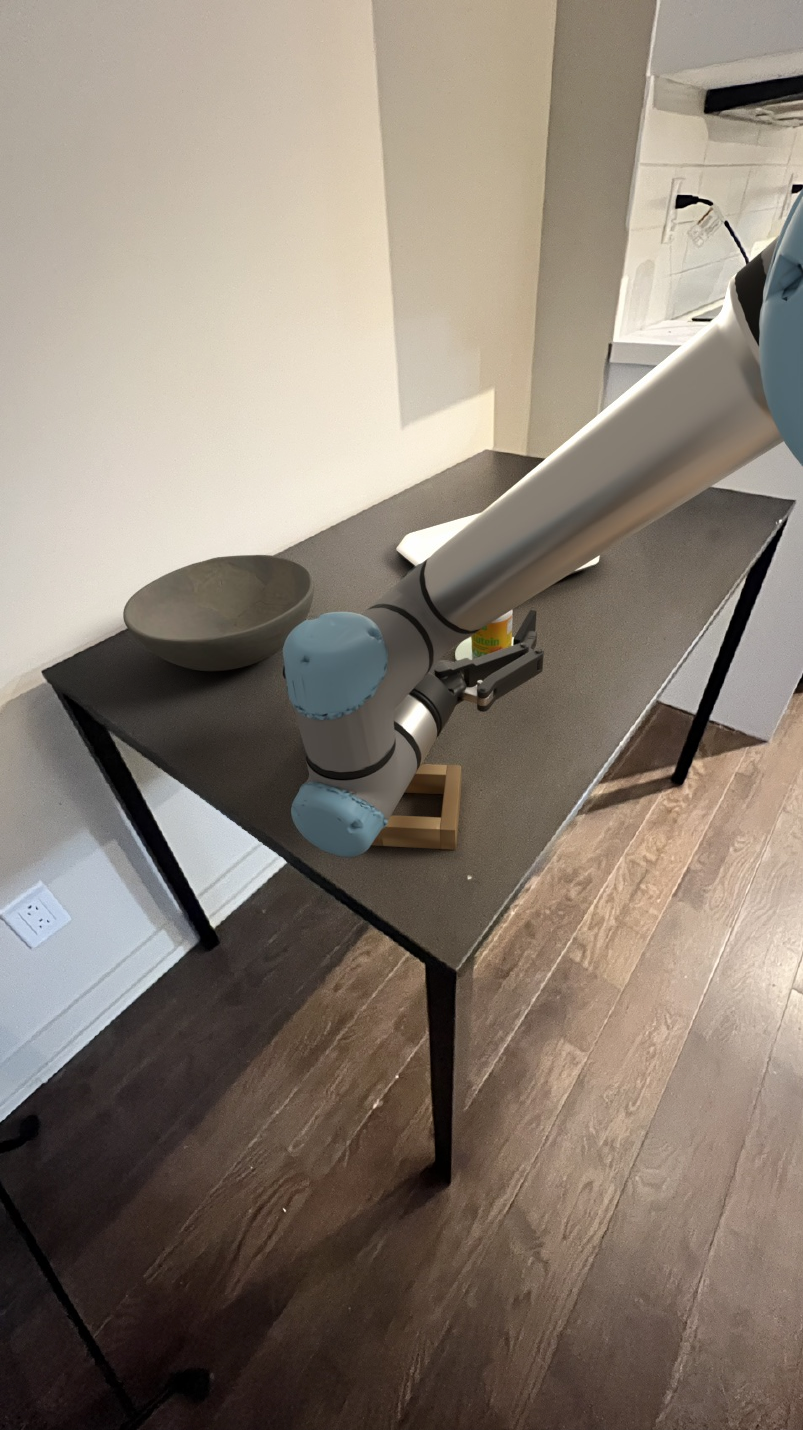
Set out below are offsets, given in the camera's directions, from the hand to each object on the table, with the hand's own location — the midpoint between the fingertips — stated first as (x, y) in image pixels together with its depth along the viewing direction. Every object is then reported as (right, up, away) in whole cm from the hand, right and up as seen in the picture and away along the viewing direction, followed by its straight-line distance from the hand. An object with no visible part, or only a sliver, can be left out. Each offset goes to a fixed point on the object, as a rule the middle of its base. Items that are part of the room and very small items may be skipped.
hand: (477, 611), depth 75 cm
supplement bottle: (+3, -4, +10) cm, 12 cm away
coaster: (+3, -4, +11) cm, 12 cm away
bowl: (-34, -3, +18) cm, 38 cm away
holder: (-8, -23, -10) cm, 26 cm away
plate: (+7, +15, +33) cm, 37 cm away
